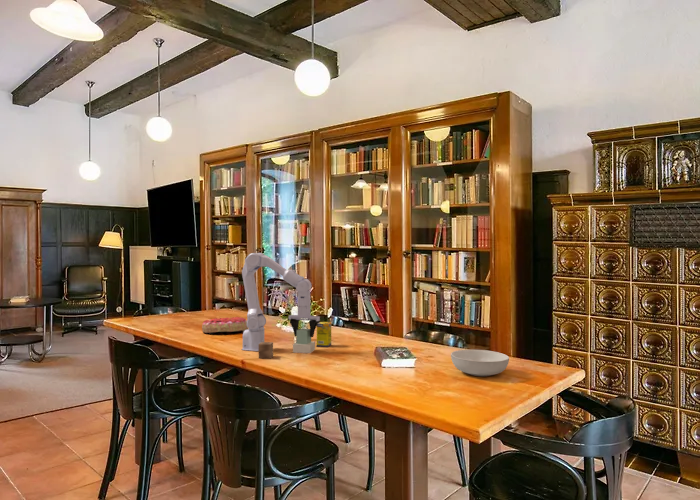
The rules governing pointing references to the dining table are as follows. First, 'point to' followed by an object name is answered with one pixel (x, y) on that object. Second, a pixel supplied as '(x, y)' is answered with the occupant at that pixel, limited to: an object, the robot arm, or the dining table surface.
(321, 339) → the supplement box
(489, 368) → the serving bowl
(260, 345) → the walnut block
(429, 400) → the dining table surface
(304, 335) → the green block
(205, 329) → the cake
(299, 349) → the grey block
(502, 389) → the dining table surface
